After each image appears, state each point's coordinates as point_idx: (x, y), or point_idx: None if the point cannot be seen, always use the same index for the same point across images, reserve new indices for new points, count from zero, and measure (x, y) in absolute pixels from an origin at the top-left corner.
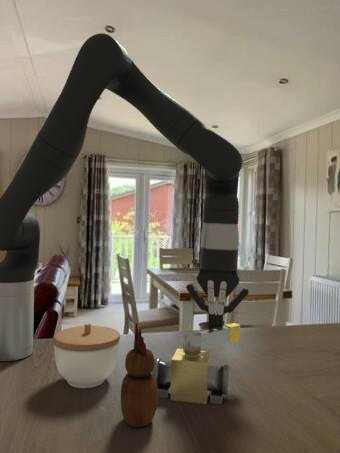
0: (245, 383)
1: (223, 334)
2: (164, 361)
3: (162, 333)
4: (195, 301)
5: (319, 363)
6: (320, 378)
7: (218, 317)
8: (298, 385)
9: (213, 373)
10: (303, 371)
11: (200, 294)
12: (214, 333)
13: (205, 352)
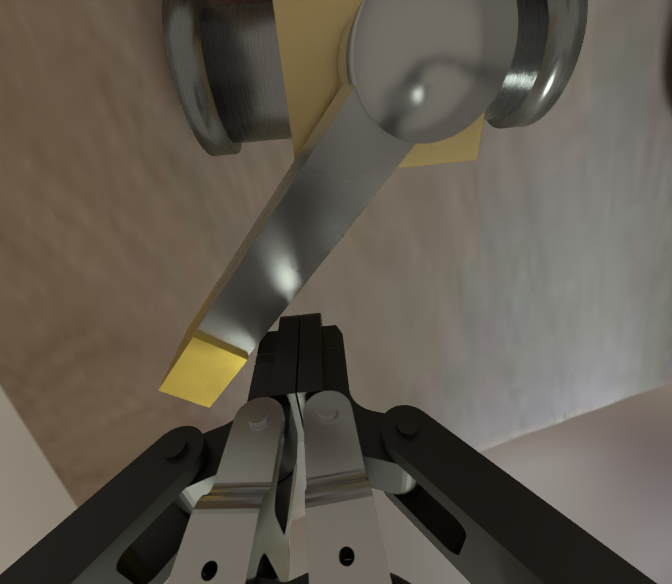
0: (202, 234)
1: (231, 270)
2: (523, 52)
3: (483, 446)
4: (497, 468)
5: (63, 418)
6: (15, 339)
7: (275, 382)
8: (48, 275)
9: (249, 18)
10: (79, 364)
11: (465, 577)
12: (270, 213)
13: None
